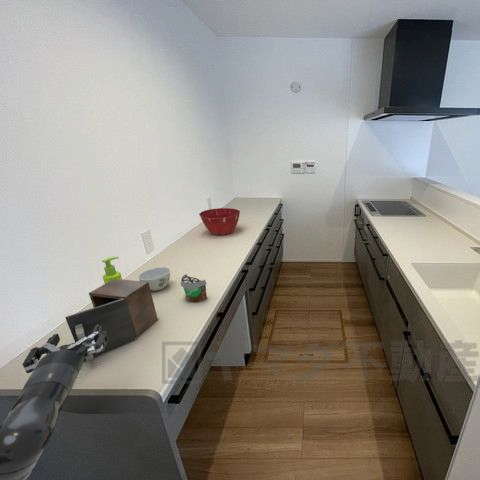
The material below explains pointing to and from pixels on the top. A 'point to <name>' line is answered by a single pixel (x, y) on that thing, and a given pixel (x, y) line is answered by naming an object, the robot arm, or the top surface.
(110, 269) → the soap dispenser
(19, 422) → the robot arm
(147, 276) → the teacup
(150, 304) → the cupboard
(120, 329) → the door
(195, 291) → the food container
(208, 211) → the mixing bowl
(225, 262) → the top surface
